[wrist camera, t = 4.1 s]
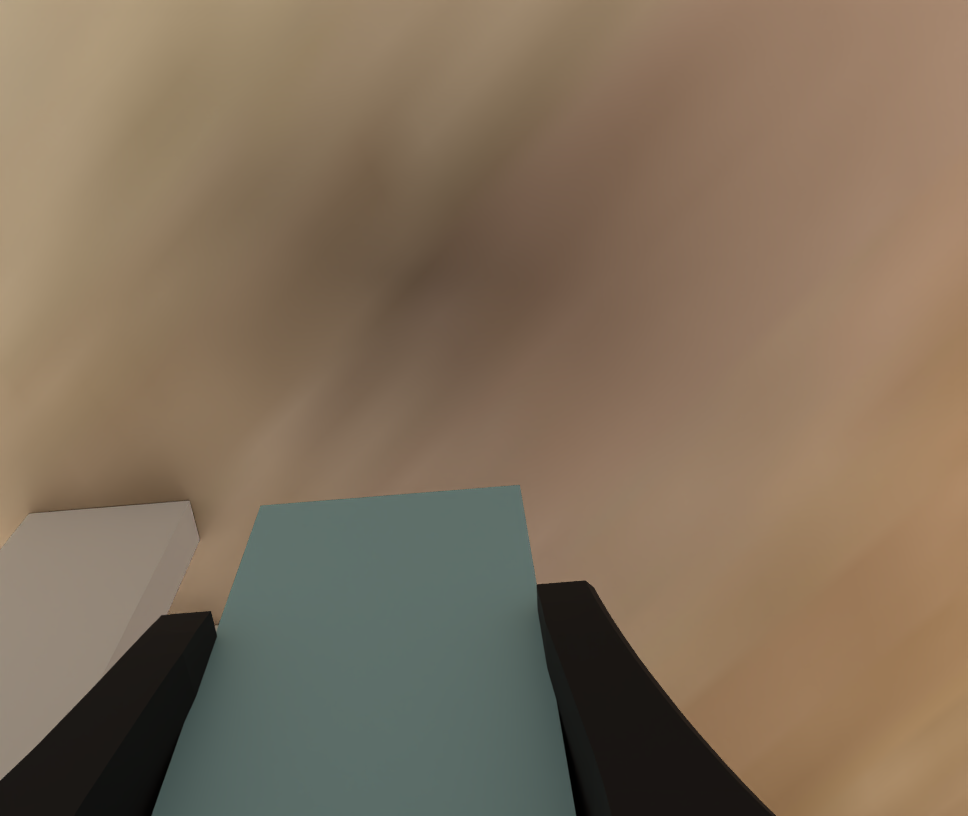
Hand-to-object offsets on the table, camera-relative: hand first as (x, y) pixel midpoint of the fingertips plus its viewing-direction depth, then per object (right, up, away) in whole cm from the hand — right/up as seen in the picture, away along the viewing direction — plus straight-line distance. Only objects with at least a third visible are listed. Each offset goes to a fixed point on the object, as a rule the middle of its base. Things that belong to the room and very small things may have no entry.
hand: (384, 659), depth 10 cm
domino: (-8, 0, +11) cm, 13 cm away
